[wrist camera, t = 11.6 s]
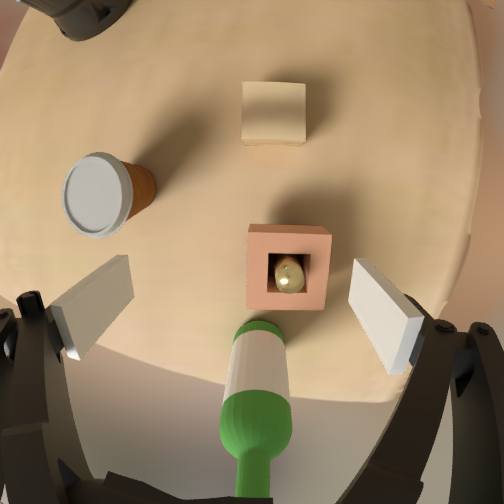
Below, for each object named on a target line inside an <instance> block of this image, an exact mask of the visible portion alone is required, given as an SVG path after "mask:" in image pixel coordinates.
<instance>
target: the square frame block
mask: <svg viewBox="0 0 504 504" xmlns="http://www.w3.org/2000/svg"><path fill="white" fill-rule="evenodd" d="M331 243H332V234H331V233H330V232H328V231H327V230H326V229H325V228H324V227H323V226H305V225H276V224H250V226H249V230H248V267H247V309H263V310H324V305H325V297H326V289H327V281H328V273H329V264H330V254H331ZM268 253H289V254H304V255H303V268H302V271H303V274H304V277H305V283H304V286H303V287H302V289H301V290H300V291H298V292H296V293H293V294H286V293H283V292H282V291H280V290H279V289H278V287H277V285H276V278H275V277H272V276H268Z"/></svg>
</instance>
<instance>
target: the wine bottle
mask: <svg viewBox="0 0 504 504" xmlns="http://www.w3.org/2000/svg"><path fill="white" fill-rule="evenodd" d="M219 431H220V438H221V441H222V443H223V445H224V446H225V448H226V449H227V451H228V452H229V453H230V454H232V455H233V456H234V457H236V458H237V459H238V469H237V480H236V493H235V497H249V498H269V495H270V460H272V459H273V458H275V457H276V456H278V455H279V454H280V453H281V452H282V451H283V450H284V449H285V448H286V446H287V445H288V443H289V441H290V438H291V434H292V418H291V405H290V393H289V382H288V372H287V362H286V352H285V344H284V338H283V335H282V333H281V331H280V330H279V329H278V328H277V327H276V326H275V325H273V324H272V323H270V322H266V321H258V320H257V321H251V322H249V323H246V324H244V325H243V326H242V327H241V328H240V329H239V330H238V331H237V333H236V335H235V338H234V342H233V347H232V352H231V358H230V364H229V370H228V375H227V381H226V387H225V393H224V398H223V404H222V411H221V417H220V423H219Z"/></svg>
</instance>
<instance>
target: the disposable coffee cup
mask: <svg viewBox="0 0 504 504" xmlns="http://www.w3.org/2000/svg"><path fill="white" fill-rule="evenodd" d="M155 193H156V183H155V180H154V177H153V176H152V174H151V173H150V172H149V171H148V170H146V169H144V168H142V167H139V166H136V165H132V164H129V163H126V162H123V161H120V160H118V159H117V158H115V157H114V156H112V155H111V154H107V153H104V152H96V153H91V154H89V155H86V156H85V157H83V158H82V159H81V160H79V161H78V162H76V163H75V164H74V165H73V166H72V167H71V169H70V170H69V172H68V174H67V175H66V177H65V181H64V184H63V189H62V204H63V209H64V213H65V215H66V218H67V220H68V221H69V223H70V224H71V226H72V227H73V228H74V229H75V230H76V231H77V232H79V233H81V234H83V235H86V236H89V237H93V238H105V237H108V236H110V235H113V234H114V233H115V232H117V231H118V230H119V229H120V228H121V227H122V225H123V224H124V223H125V221H127V220H129V219H130V218H131V217H133V216H134V215H136V214H137V213H138V212H140V211H141V210H143V209H144V208H146V207H147V206H149V205H150V204H151V202H152V201H153V199H154V197H155Z"/></svg>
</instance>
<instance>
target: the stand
mask: <svg viewBox="0 0 504 504" xmlns="http://www.w3.org/2000/svg"><path fill="white" fill-rule="evenodd" d="M241 139H242V141H243V143H244V144H245V145H267V146H292V147H299V146H300V145H302V144H303V143H304V142H305V141H306V89H305V84H301V83H287V82H256V81H246V82H243V91H242V136H241Z"/></svg>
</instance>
